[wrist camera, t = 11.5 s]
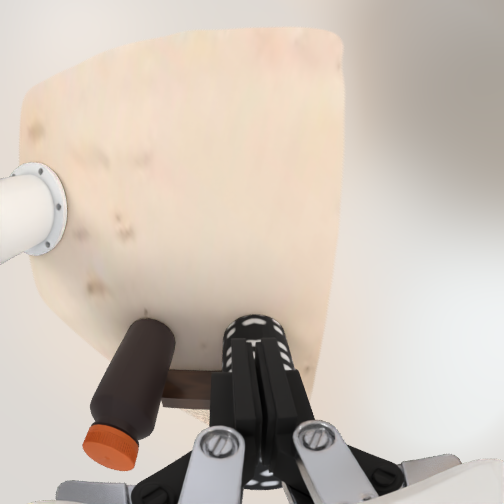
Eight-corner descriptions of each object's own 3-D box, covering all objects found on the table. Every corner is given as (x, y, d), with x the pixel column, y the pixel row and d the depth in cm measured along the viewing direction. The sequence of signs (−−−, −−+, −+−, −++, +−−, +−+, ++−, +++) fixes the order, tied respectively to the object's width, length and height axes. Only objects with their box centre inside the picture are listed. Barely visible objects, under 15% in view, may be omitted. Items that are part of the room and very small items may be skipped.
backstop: (169, 379, 39) (163, 407, 33) (167, 369, 38) (160, 397, 32) (264, 380, 40) (268, 408, 34) (264, 370, 39) (269, 399, 33)
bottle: (169, 363, 38) (140, 482, 19) (125, 347, 37) (75, 457, 18) (181, 327, 36) (149, 455, 17) (133, 309, 35) (70, 423, 16)
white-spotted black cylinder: (255, 372, 39) (269, 495, 20) (210, 343, 37) (199, 474, 18) (297, 337, 38) (339, 461, 19) (252, 302, 35) (271, 437, 16)
